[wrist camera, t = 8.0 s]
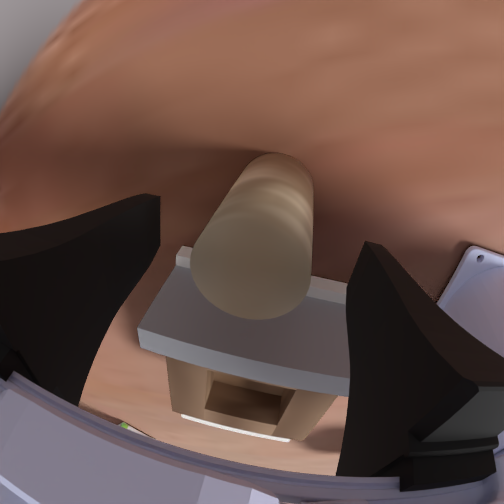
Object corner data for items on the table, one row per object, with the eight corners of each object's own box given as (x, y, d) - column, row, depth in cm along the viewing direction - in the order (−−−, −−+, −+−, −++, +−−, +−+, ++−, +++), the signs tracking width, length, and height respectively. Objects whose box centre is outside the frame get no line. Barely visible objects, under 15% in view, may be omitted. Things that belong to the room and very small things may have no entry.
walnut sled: (348, 329, 17) (350, 377, 15) (306, 403, 22) (302, 441, 20) (186, 292, 18) (164, 335, 15) (186, 375, 23) (172, 410, 20)
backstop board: (372, 289, 17) (386, 374, 12) (289, 434, 28) (281, 484, 23) (182, 245, 18) (135, 316, 13) (184, 409, 29) (167, 457, 24)
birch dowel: (321, 162, 14) (326, 236, 8) (304, 228, 16) (294, 329, 10) (245, 146, 14) (192, 207, 8) (235, 213, 16) (188, 304, 10)
